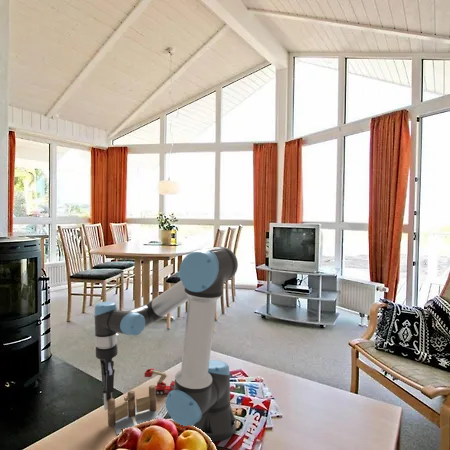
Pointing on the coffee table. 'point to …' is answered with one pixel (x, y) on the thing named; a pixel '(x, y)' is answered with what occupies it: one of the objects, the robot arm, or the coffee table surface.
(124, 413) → the fence flap
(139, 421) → the board
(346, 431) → the coffee table surface
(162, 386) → the toy fire truck
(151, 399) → the fence fixed
